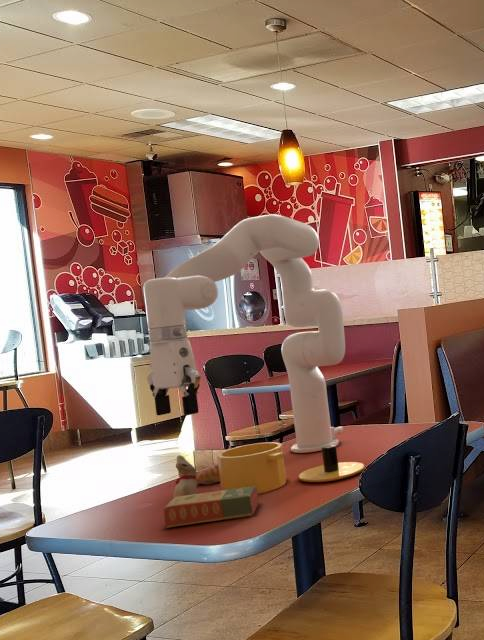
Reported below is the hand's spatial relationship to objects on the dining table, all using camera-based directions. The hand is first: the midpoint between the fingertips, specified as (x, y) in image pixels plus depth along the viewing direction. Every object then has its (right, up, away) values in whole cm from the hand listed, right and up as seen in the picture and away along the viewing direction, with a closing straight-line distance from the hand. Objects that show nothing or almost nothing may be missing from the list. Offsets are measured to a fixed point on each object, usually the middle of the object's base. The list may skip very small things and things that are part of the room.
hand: (177, 414), depth 161 cm
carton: (+14, -18, -15) cm, 27 cm away
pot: (+15, -17, +5) cm, 23 cm away
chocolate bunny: (+2, -19, +1) cm, 19 cm away
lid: (+32, -14, +8) cm, 36 cm away
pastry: (+4, -18, +16) cm, 25 cm away
